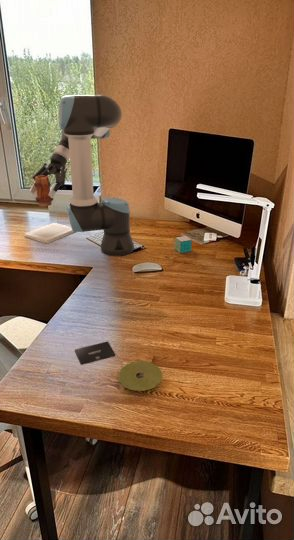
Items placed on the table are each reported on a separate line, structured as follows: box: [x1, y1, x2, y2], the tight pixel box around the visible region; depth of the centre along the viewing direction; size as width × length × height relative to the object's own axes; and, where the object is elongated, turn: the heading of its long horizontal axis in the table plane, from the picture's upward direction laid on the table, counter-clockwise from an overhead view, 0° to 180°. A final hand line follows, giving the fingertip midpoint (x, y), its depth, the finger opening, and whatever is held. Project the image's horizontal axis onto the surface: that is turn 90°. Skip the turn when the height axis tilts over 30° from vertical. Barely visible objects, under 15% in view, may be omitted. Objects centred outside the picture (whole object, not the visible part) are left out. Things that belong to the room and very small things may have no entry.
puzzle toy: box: [174, 235, 193, 254], centre depth 179 cm, size 6×6×6 cm
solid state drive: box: [74, 341, 116, 366], centre depth 114 cm, size 7×10×1 cm
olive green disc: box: [117, 360, 163, 392], centre depth 103 cm, size 11×11×2 cm
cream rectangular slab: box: [23, 222, 75, 244], centre depth 199 cm, size 16×20×2 cm
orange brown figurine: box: [34, 175, 54, 207], centre depth 191 cm, size 15×8×15 cm, turn 22°
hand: (40, 194), depth 190 cm, fingers closed on orange brown figurine, 12 cm apart
